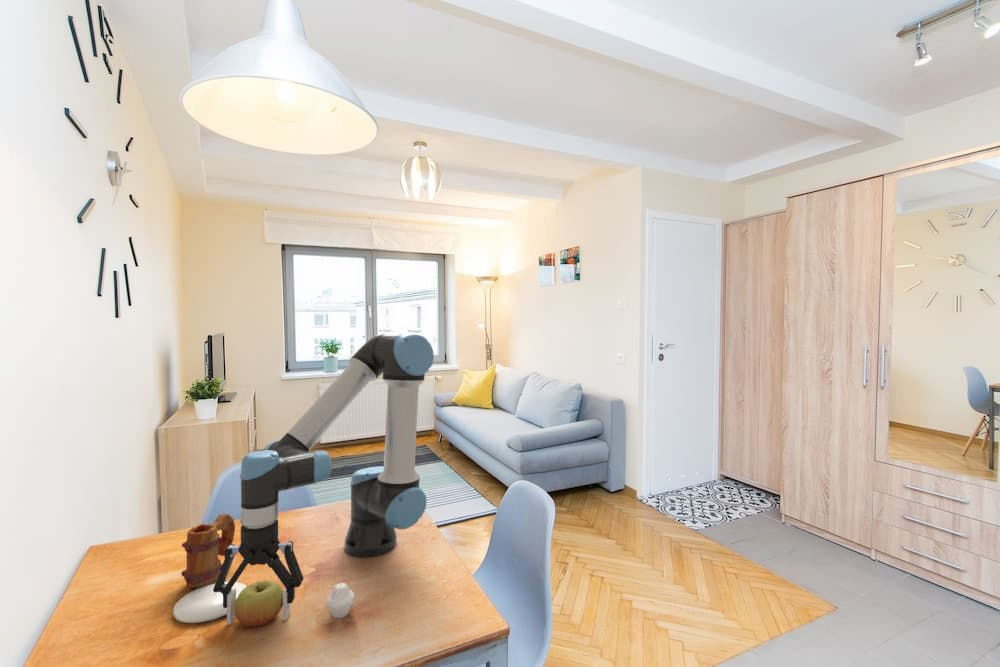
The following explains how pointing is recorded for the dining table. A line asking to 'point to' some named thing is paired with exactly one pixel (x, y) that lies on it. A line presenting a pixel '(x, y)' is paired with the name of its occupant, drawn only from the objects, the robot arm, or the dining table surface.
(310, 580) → the dining table surface
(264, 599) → the apple
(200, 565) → the mug
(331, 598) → the white rounded piece
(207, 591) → the plate
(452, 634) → the dining table surface
